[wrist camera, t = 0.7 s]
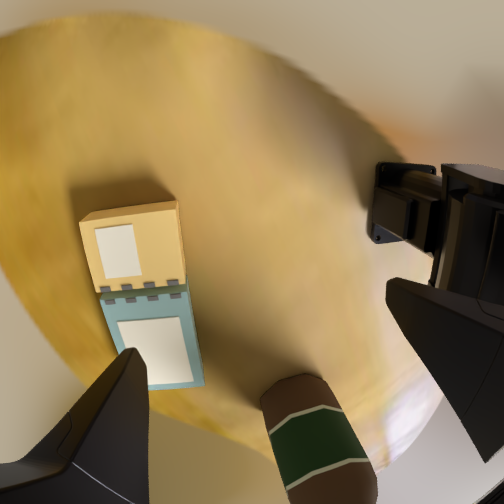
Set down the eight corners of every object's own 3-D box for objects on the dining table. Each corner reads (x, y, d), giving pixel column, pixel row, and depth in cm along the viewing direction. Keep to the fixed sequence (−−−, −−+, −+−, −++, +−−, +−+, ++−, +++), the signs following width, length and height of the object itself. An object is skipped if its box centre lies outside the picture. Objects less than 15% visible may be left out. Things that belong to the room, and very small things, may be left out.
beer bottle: (311, 415, 30) (387, 581, 8) (248, 418, 28) (309, 613, 6) (338, 370, 27) (448, 560, 6) (269, 371, 25) (363, 612, 4)
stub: (177, 200, 18) (175, 209, 16) (185, 267, 20) (185, 284, 17) (91, 211, 17) (77, 223, 15) (105, 275, 19) (95, 293, 16)
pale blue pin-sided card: (187, 274, 20) (186, 292, 18) (203, 365, 24) (205, 386, 21) (107, 282, 19) (99, 300, 17) (137, 371, 23) (134, 391, 20)
